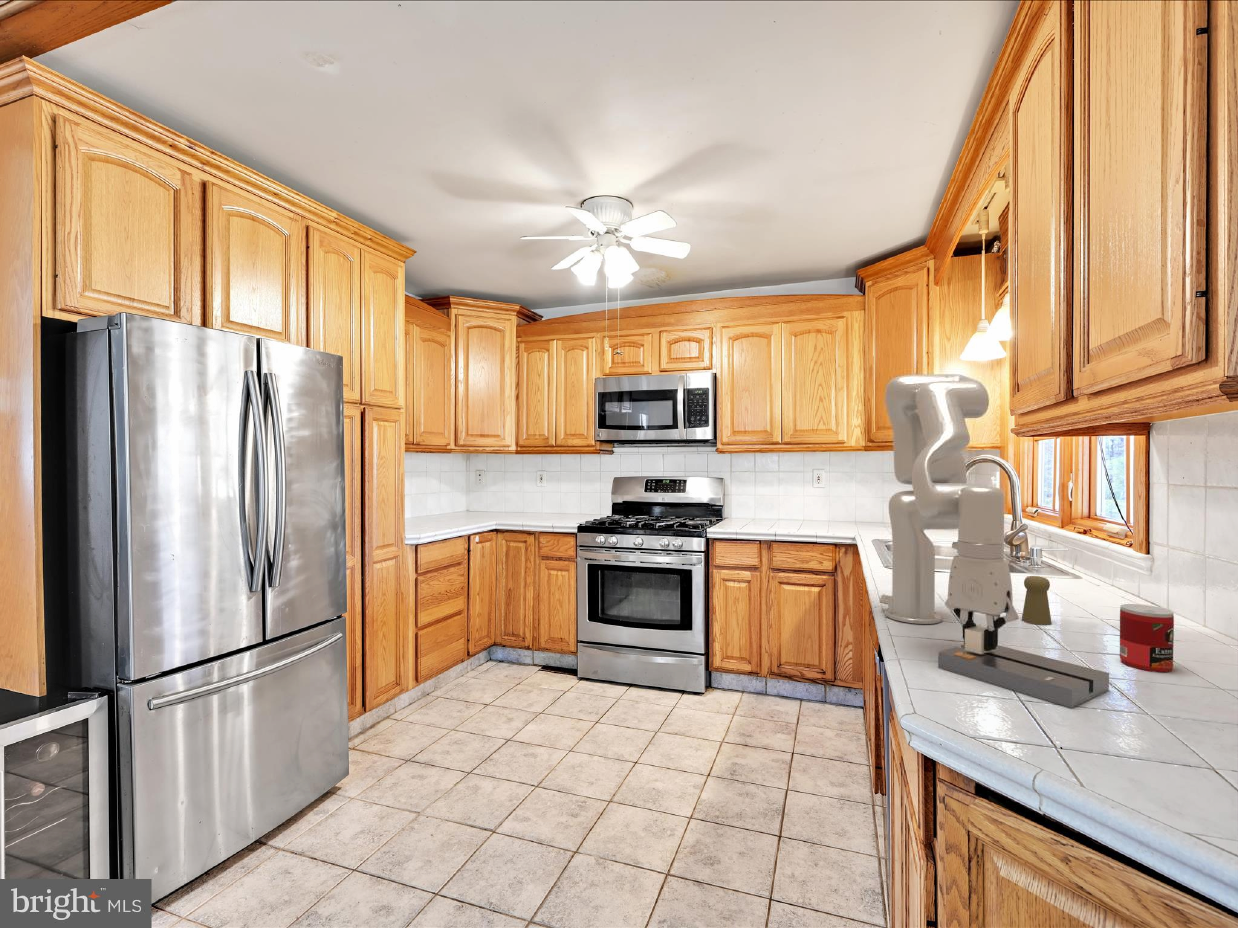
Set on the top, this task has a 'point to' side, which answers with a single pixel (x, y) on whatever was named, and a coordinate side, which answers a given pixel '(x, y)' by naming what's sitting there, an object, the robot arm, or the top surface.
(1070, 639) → the top surface
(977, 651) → the fader knob
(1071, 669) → the fader console
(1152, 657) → the canned food
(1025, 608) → the cork
